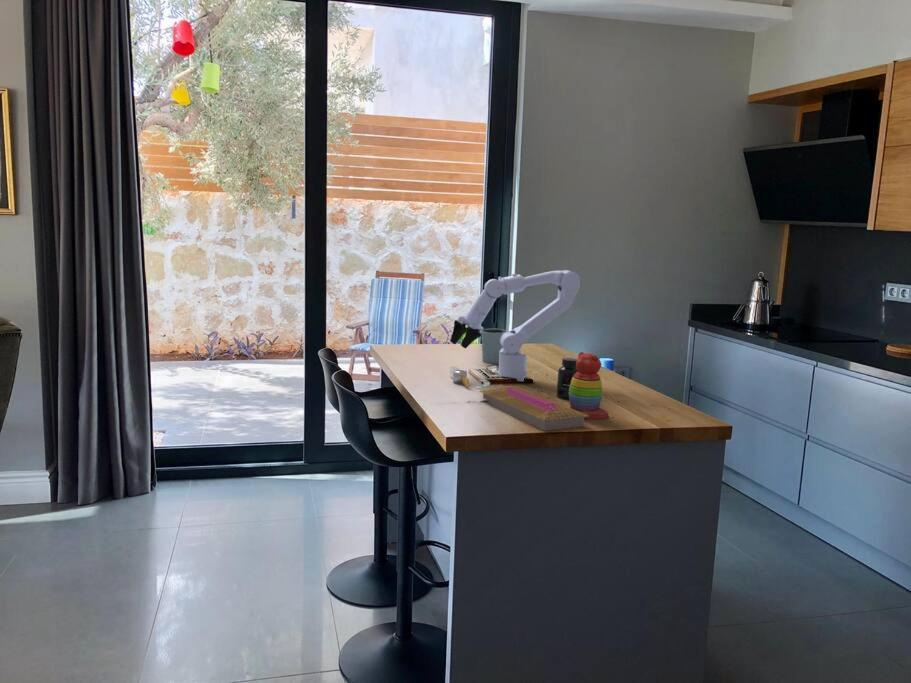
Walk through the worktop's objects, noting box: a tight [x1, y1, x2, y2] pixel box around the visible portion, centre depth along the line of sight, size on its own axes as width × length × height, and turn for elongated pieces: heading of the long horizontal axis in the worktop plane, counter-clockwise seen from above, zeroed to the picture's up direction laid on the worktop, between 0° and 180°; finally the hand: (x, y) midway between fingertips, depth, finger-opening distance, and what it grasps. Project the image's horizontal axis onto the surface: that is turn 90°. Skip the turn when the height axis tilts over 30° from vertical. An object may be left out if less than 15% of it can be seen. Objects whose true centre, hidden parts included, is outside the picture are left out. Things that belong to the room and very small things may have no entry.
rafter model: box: [479, 385, 589, 431], centre depth 217 cm, size 35×14×6 cm, turn 27°
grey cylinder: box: [480, 328, 508, 365], centre depth 291 cm, size 10×10×12 cm
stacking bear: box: [568, 351, 609, 420], centre depth 216 cm, size 11×10×18 cm
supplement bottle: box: [556, 357, 578, 400], centre depth 237 cm, size 7×7×12 cm
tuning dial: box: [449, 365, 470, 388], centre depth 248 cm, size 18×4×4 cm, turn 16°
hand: (457, 344), depth 260 cm, fingers open, 7 cm apart
